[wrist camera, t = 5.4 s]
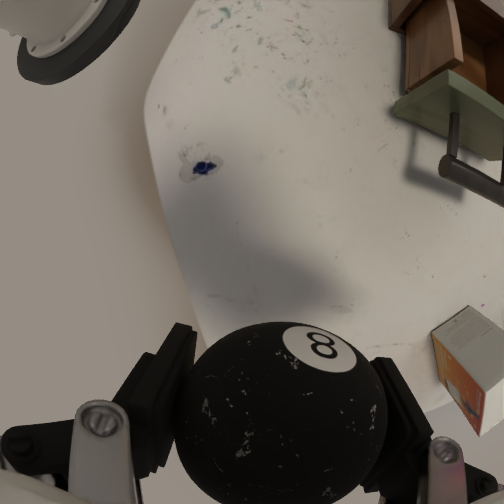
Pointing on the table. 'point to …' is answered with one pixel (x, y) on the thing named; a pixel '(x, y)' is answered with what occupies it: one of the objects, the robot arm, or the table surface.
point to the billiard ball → (280, 416)
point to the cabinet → (404, 3)
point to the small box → (472, 366)
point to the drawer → (457, 86)
